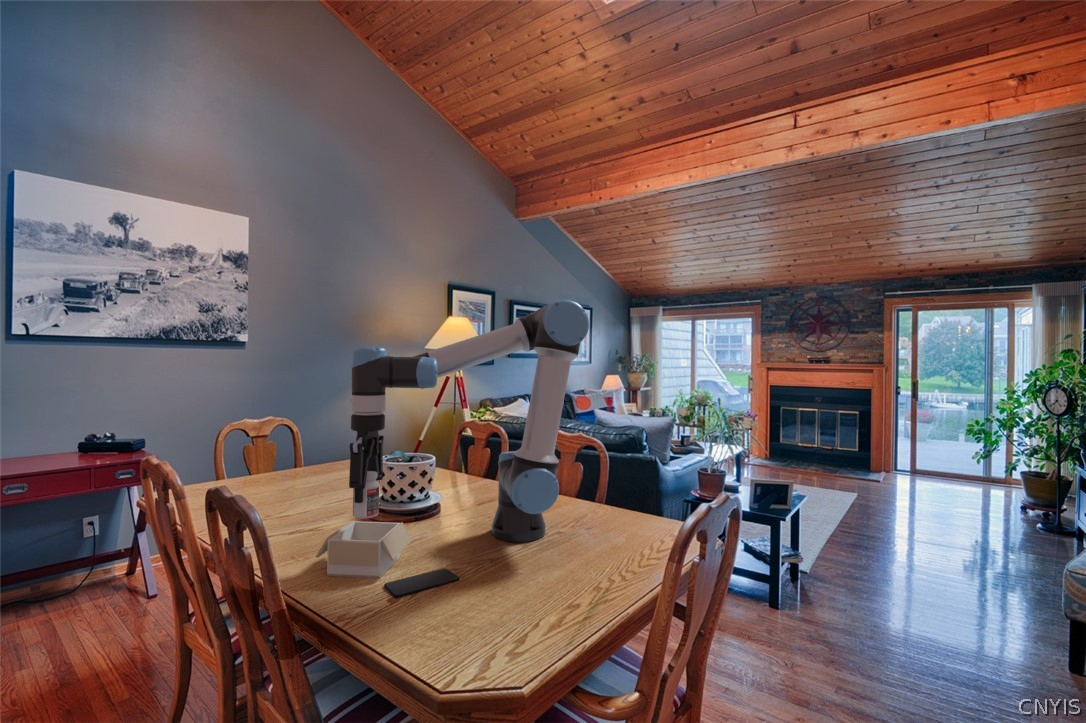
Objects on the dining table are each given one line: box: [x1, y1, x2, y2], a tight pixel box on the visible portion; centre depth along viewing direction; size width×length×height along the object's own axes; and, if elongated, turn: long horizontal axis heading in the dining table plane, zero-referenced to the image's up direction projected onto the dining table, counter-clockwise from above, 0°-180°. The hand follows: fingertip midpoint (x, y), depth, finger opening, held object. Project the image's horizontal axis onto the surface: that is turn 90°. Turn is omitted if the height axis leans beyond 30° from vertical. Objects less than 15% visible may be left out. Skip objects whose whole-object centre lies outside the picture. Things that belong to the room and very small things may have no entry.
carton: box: [326, 520, 402, 579], centre depth 115 cm, size 12×14×8 cm
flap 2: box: [381, 521, 413, 561], centre depth 114 cm, size 1×12×5 cm, turn 176°
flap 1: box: [315, 520, 354, 558], centre depth 115 cm, size 1×12×5 cm, turn 176°
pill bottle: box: [352, 471, 380, 520], centre depth 115 cm, size 6×6×10 cm
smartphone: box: [383, 568, 460, 599], centre depth 106 cm, size 7×1×15 cm
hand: (366, 511), depth 115 cm, fingers closed on pill bottle, 6 cm apart
